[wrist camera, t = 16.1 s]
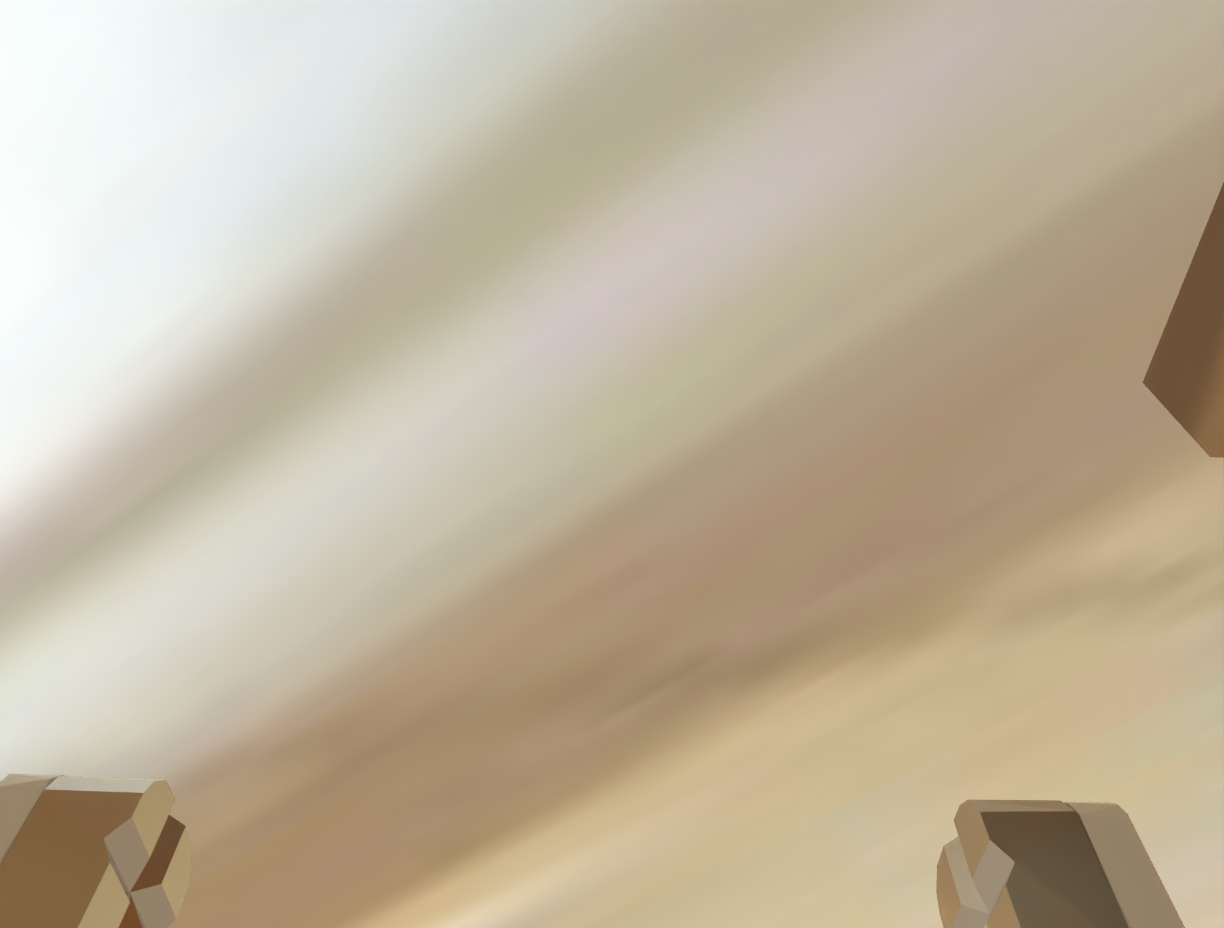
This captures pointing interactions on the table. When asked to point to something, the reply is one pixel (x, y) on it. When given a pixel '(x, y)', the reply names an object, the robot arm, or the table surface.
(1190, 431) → the board with handle
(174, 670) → the table surface
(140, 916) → the robot arm
